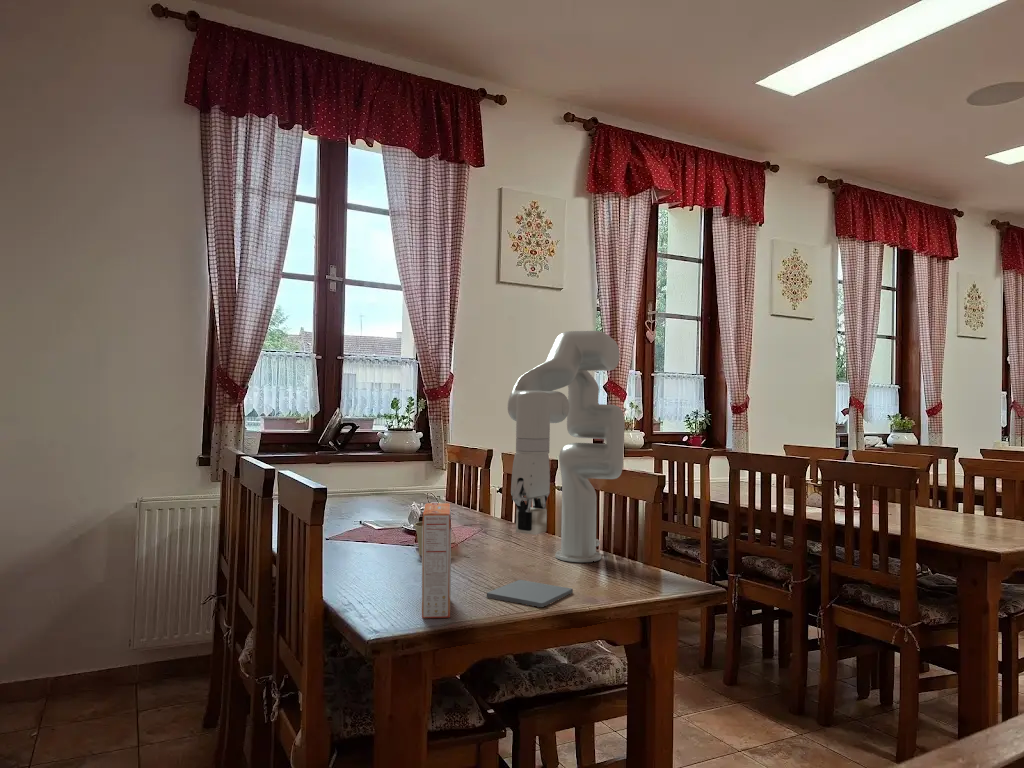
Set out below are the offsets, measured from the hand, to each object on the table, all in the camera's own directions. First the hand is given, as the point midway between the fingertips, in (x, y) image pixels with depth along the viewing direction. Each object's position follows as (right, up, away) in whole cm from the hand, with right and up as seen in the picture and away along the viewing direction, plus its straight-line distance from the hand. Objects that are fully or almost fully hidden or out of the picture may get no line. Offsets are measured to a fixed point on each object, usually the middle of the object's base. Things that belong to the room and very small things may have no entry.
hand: (531, 527), depth 161 cm
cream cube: (0, -1, 0) cm, 1 cm away
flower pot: (-27, -16, +39) cm, 49 cm away
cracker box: (-20, -15, -11) cm, 27 cm away
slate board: (0, -15, 0) cm, 15 cm away
